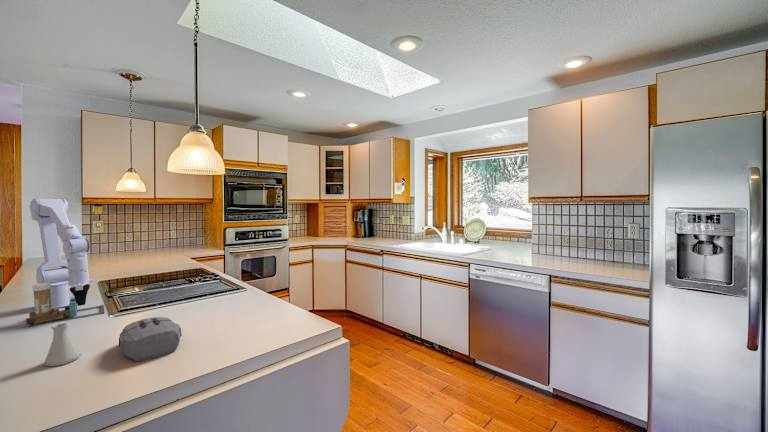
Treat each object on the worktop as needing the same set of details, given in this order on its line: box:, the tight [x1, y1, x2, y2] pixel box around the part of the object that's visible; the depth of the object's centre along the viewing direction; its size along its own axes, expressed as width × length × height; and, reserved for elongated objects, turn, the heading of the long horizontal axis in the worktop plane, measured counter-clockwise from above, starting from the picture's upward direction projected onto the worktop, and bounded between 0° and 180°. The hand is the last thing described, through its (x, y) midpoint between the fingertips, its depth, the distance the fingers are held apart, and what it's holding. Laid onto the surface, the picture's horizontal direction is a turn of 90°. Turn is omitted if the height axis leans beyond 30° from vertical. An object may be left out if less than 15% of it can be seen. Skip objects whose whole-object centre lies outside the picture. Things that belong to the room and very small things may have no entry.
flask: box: [43, 322, 82, 367], centre depth 93 cm, size 7×7×10 cm
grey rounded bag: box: [118, 316, 183, 362], centre depth 101 cm, size 15×8×20 cm
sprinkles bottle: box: [32, 283, 52, 317], centre depth 123 cm, size 5×5×14 cm
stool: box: [25, 296, 78, 326], centre depth 125 cm, size 11×13×5 cm
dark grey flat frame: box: [28, 304, 105, 328], centre depth 128 cm, size 11×20×1 cm, turn 130°
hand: (81, 304), depth 130 cm, fingers closed, pressing on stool
